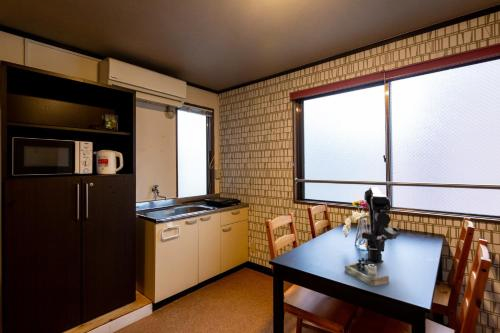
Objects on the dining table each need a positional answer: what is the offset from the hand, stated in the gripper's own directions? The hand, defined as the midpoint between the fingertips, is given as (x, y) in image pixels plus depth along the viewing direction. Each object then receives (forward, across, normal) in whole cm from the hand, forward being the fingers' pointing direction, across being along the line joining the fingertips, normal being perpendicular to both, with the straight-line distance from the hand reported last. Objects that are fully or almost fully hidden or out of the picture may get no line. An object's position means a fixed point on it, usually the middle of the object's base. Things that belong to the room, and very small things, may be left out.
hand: (379, 251), depth 123 cm
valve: (+11, -7, 0) cm, 13 cm away
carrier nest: (+11, -9, 0) cm, 14 cm away
